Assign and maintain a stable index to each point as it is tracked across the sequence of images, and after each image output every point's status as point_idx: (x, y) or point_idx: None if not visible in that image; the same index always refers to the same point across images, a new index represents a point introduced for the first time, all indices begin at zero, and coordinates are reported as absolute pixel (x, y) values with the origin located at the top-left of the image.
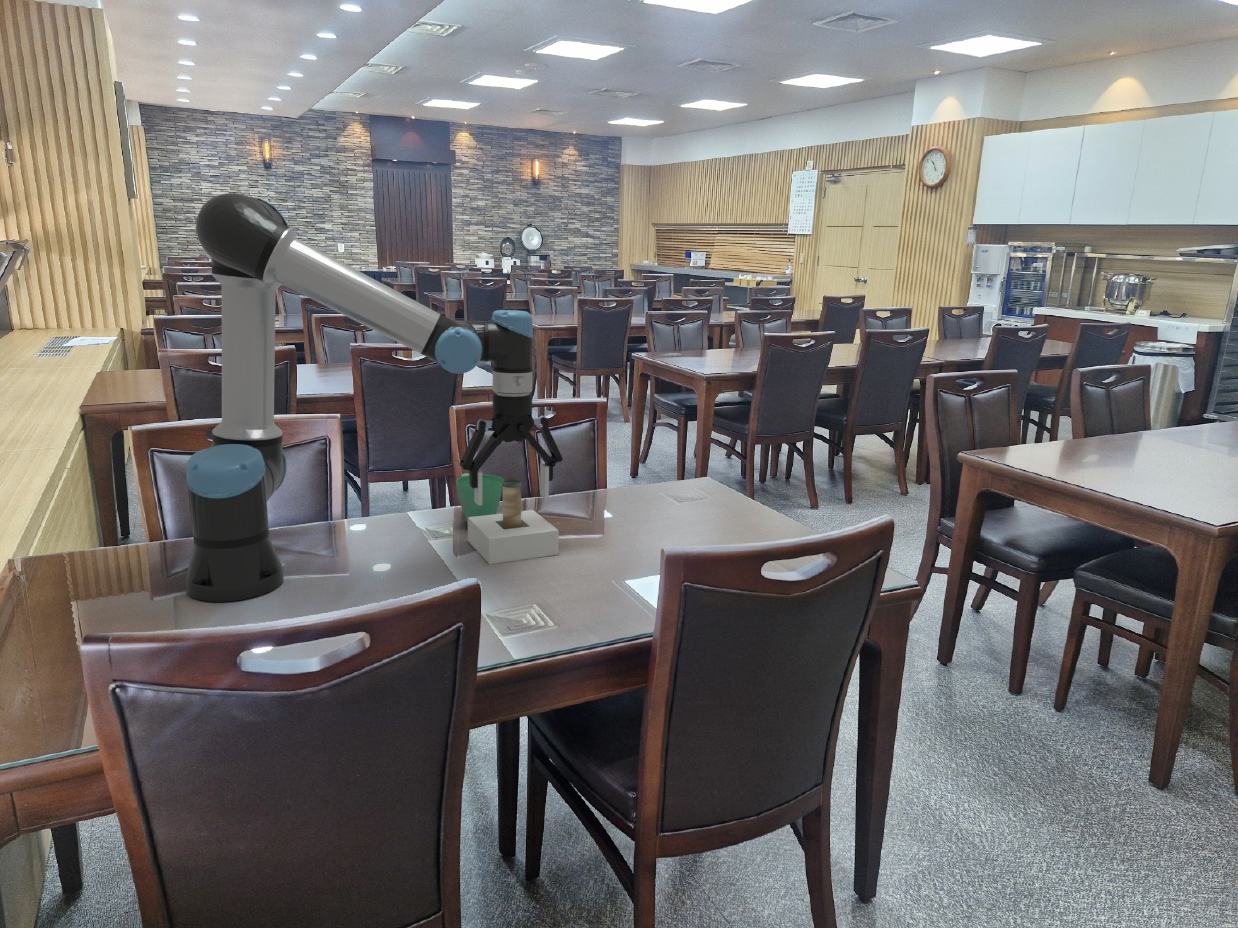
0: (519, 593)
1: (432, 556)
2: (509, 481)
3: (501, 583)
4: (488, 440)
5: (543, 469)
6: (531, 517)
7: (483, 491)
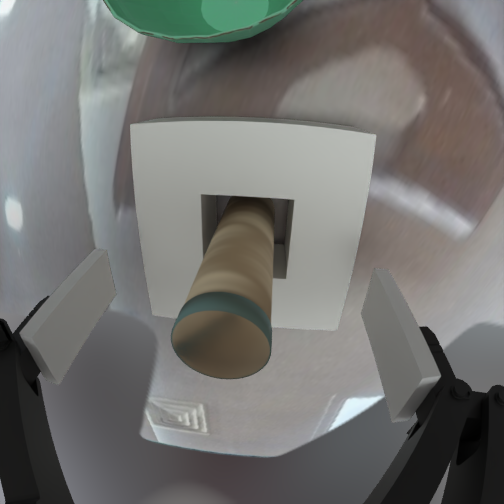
0: (191, 381)
1: (75, 193)
2: (201, 358)
3: None
4: (5, 495)
5: (398, 390)
6: (331, 207)
7: (186, 42)
